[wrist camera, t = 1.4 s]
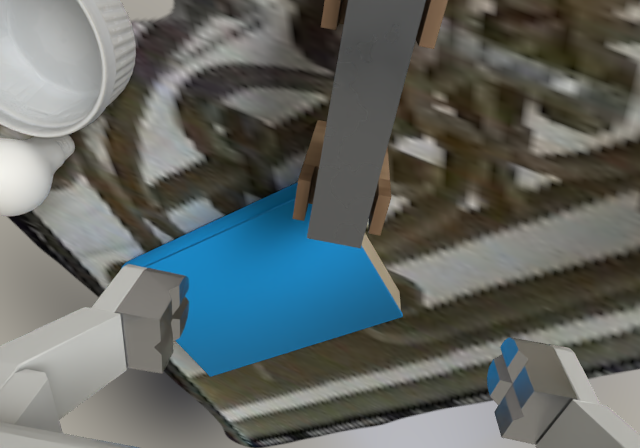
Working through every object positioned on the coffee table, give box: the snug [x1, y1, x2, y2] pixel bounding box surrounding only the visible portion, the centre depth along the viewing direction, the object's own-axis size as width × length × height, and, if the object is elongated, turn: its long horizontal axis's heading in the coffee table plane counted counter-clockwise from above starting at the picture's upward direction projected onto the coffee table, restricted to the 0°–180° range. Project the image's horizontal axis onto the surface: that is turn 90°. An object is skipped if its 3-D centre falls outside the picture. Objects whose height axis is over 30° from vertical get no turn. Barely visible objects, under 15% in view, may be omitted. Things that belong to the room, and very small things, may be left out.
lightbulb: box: [0, 135, 75, 216], centre depth 36 cm, size 6×6×11 cm
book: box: [121, 182, 403, 377], centre depth 46 cm, size 17×4×25 cm
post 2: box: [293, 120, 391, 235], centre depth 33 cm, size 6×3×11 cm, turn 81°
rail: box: [307, 0, 426, 248], centre depth 25 cm, size 4×16×4 cm, turn 171°
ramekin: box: [0, 0, 136, 138], centre depth 32 cm, size 13×13×7 cm
